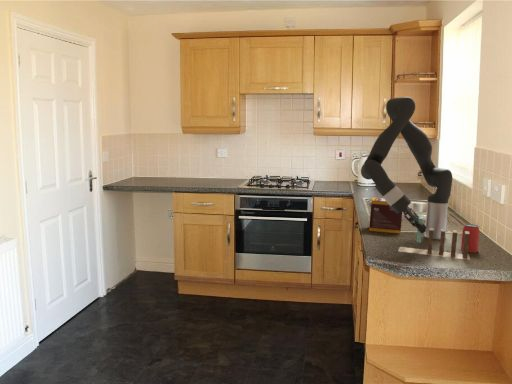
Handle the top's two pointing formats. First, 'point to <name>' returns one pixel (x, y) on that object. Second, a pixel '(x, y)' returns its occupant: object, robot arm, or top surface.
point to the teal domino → (419, 231)
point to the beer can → (471, 237)
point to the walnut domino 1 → (430, 240)
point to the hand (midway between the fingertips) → (424, 230)
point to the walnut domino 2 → (442, 242)
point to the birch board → (434, 253)
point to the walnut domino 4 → (466, 244)
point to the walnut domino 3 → (454, 243)
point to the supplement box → (384, 217)
